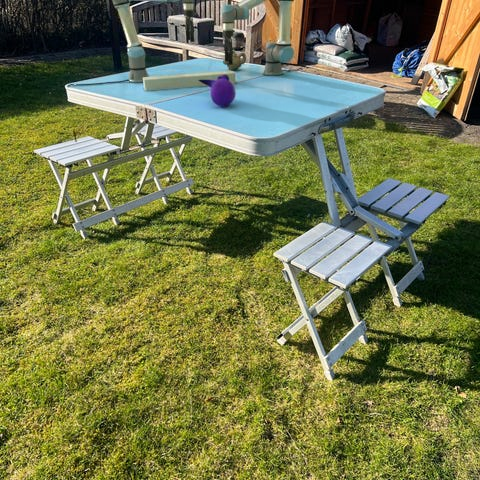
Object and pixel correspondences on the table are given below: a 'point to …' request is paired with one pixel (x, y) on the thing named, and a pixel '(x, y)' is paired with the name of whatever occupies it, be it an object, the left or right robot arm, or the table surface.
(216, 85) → the toy
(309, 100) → the table surface
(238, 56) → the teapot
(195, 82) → the thick block
